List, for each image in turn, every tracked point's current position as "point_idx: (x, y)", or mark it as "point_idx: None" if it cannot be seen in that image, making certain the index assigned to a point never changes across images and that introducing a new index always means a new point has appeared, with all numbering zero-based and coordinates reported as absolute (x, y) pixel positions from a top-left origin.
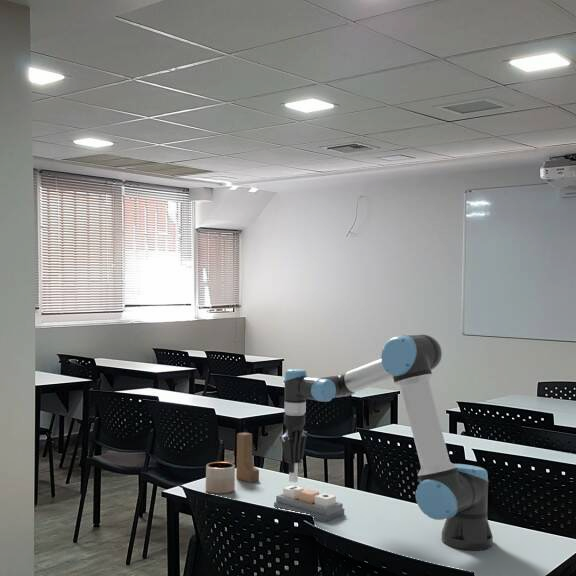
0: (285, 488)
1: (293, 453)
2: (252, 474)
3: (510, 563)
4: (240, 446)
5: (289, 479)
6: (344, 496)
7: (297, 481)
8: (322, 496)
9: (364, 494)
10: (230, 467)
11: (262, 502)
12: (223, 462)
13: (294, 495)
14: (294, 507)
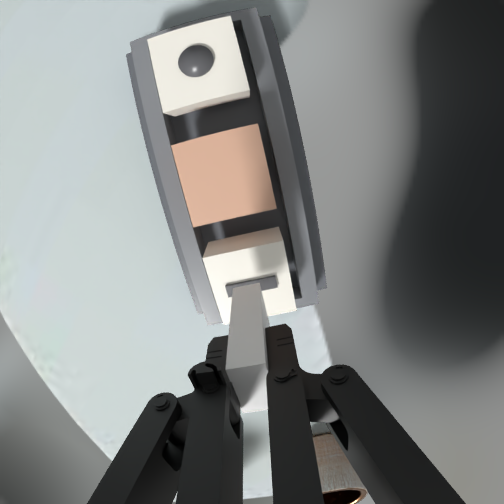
0: (290, 301)
1: (306, 444)
2: None
3: None
4: None
5: (269, 325)
6: (23, 249)
7: (235, 288)
8: (215, 64)
9: None
10: (328, 491)
11: (306, 347)
12: None
13: (278, 232)
14: (305, 182)
